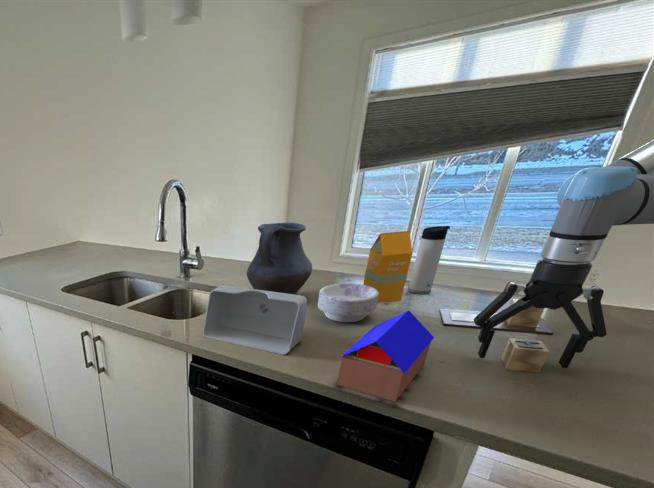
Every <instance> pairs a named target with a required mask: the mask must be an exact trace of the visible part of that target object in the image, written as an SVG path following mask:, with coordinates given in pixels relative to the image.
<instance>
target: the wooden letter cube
mask: <svg viewBox="0 0 654 488" xmlns="http://www.w3.org/2000/svg"><path fill="white" fill-rule="evenodd" d="M549 353H550V350H549V349H548V348H547V346H546V345H545V343H544V342H543V341H542V340H533V339H532V340H531V339H523V338H514V337H513V338H511V337H509V338H508V340H507V343H506V346H505V348H504V350H503V352H502V356H501V357H500V358H501V361H502V364H503V365H504V367H505V369H506V370H508V371H509V370H510V371H518V372H525V373H535V374H540V372H541V370H542V368H543V366H544V364H545V362H546V360H547V358H548V356H549Z"/></svg>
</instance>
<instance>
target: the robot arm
mask: <svg viewBox="0 0 654 488" xmlns="http://www.w3.org/2000/svg"><path fill="white" fill-rule="evenodd" d="M556 200H557V201H556V202H557V204H558V205H559V209H558V211H557V213H556V216H555V219H554V221H553V224H552V226H551V229H550V232H549V233H548V236H547V238H546V241H545V242H544V245H543V248H542V250H541V253H540V254H539V256H540V257H541V258H540V259H538V260H537V261H536V264H535V267H534V268H533V272H532V274H531V276H530V279H529V281H528V282H527V283H526V284H520V283H516V282H515V281H509V282H507V284H506V285H505V287H504V289H503V290H502V292H501V293H500V294H499V295H498V296H496V297H495V298H494V299H493V300H492V301H491V302H490V303H489V304H488V305H486V306H485V308H483V310H481V311H482V312H480V313H479V314H478V315H477V316H476V317H475V318H474V322H475V324H476V326H480V327H482V329H480V331H479V334H478V336H477V340H478V342H479V343H481V344H480V346H479V349H478V352H477V354H478V357H479V359H485V358H486V355H487V353H488V350H489V348H490V346H491V343H492V340H493V337H494V335H495V333H496V330H494V328H493V327H495V326H497V325H499V324H500V323H502V322H504V321H505V320H507V319H509V318H511V317H512V316H514V315H516V314H517V313H519V312H521V311H523V310H526V309H528V308H530V307H532V306H533V307H535V308H540V309H541V308H544V309H549V310H556V311H557V310H558V309H560V308H562V309H563V311H564V313H565V314H566V315H567V317H568V318H569V320H570V321H571V323H572V324H573V326H574V327H575V329H576V330H577V333H572V334H571V336H570V338H569V340H568V342H567V344H566V346H565V348H564V350H563V352H562V354H561V356H560V358H559V360H558V364H559V365H560V367H561V368H562V369H568V368H569V367H570V364H571V363H572V361H573V359H574V357H575V355H576V353H577V354H581V353H582V352H583V351H584V350H585V348H586V346H587V344H588V342H589V341H592V340H593V339H594V338H598V337H599V338H603V337H606V336H607V327H606V323H605V317H604V312H603V307H602V298H603V295H604V293H605V290H603V289H602V288H601V287H600V286H598V285H593V286H590V287H583V285H584V284H585V282H586V280H587V278H588V276H589V273H590V272H591V270H592V268H593V264H592V263H591V262H594V261H596V259H597V257H598V255H599V253H600V251H601V248H602V246H603V245H604V243H605V241H606V238H607V237H608V235H609V233H610V231H611V230H612V227H614V226H629V225H653V224H654V139H652V140H650V141H649V142H647V143H645V144H643V145H642V146H640V147H638V148H636V149H635V150H633V151H631V152H629V153H627V154H625V155H624V156H622V157H620V158H618V159H616V160H615V161H613V162H611V163H609V164H607V165H605V166H593V167H585V168H582V169H580V170H579V171H577V172H576V173H574V174H572V175H570V177H567V178H566V180H565V181H564V182H562V184H561V186H560V187H559V188H558V191H557V193H556ZM521 292H523V294H524V296H522V297H520V298H518V299H519V300H518V301H517V302H516V303H514V304H512V305H511V306H509V305H508V306H507V307H506V308H503V309H502V307H503V306H505V305H506V304H507V303H508V302H509V301H511V300H512V299H513V297H514V296H516V295H517V296H518V294H519V293H521ZM581 295H583V298H584V299H585V300H586V303H587V308H588V309H587V310H588V314H589V318H590V323H591V327H592V328H588V327H587V325H586V323H585V322H584V320H583V319H582V317H581V316H580V314H579V313H578V311H577V310H576V308H575V306H574V304H573V303H572V302H573V301H575V300H576V299H577V298H579V297H580V296H581ZM500 309H502V310H501V311H499V310H500ZM498 311H499V312H498ZM495 312H497V314H496V315H494V316H492V315H493V314H494V313H495ZM491 316H492V317H491ZM490 317H491V318H490Z"/></svg>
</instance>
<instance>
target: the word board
mask: <svg viewBox="0 0 654 488" xmlns="http://www.w3.org/2000/svg"><path fill="white" fill-rule="evenodd" d="M438 311H439V315H440V318H441V322H442V326H445V327H455V328H465V329H466V328H467V329H477V330H479V329H480V330H481V329H482V327H480V326H476V324H475V322H474V318H475V317H476V316H477V315H478V314H479V313H480V312H482V311H483V310H468V309H456V308H455V309H453V308H441V307H440V308H439V309H438ZM497 313H498V311H497V312H495V313H494V314H493V315H492V316H494V315H496V314H497ZM492 316H491V317H492ZM491 317H490V318H491ZM493 328H494V330H495V331H501V332H511V333H512V332H514V333H523V334H538V335H547V336H548V335H549V336H553V335H554V331H553V330H552V329H551V328H550V326H549V325H548V324H547V323H546V322H545V320H544V319H543V317H542V316H541V317H540V320H539V322H538V324H537V326H529V325H516V324H509V323H508V321H507V320H505V321H504V322H502V323H500V324H499V325H497V326H495V327H493Z"/></svg>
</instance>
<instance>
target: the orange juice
mask: <svg viewBox="0 0 654 488" xmlns="http://www.w3.org/2000/svg"><path fill="white" fill-rule="evenodd" d="M412 256H413V248H412V240H411V232H410V230H403V231H394V232H393V231H392V232H382V233H379V235H378V236H377V238H376V240H375V241H374V242H373V244H372V245H371V247H370V249H369V254H368V258H367V264H366V268H365V273H364V280H363V284H362V285H366V286H370V287H373V288H375V289H376V290H377V291H378V292H379V296H378V302H377V303H384V302H396V301H401V300H402V298H403V293H404V289H405V285H406V282H407V278H408V274H409V269H410V265H411V260H412Z"/></svg>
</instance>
